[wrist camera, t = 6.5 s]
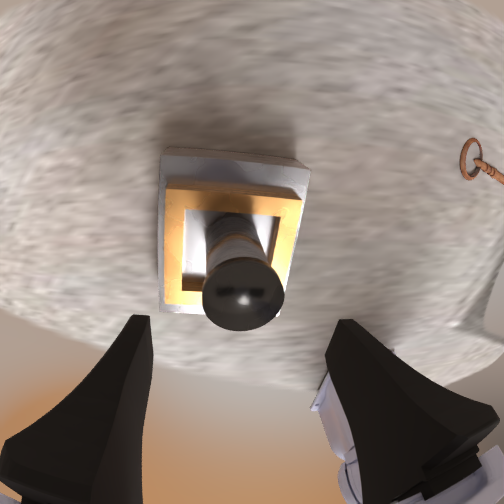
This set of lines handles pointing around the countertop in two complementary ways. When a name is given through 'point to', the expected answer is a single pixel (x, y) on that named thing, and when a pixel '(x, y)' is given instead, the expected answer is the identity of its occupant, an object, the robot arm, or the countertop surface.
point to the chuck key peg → (239, 277)
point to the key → (478, 164)
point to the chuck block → (222, 214)
